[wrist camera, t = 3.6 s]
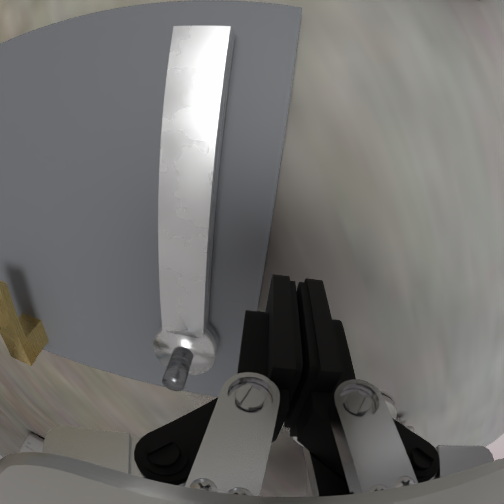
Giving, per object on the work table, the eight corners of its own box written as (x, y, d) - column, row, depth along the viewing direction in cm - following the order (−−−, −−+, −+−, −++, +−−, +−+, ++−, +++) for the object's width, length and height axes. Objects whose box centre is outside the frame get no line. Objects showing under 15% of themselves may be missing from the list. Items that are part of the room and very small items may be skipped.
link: (217, 361, 24) (207, 409, 20) (162, 351, 24) (144, 395, 20) (251, 36, 14) (242, 9, 9) (169, 34, 14) (134, 13, 9)
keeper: (26, 265, 22) (-1, 288, 18) (49, 341, 26) (31, 366, 23) (6, 260, 22) (-20, 281, 18) (29, 333, 26) (11, 356, 23)
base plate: (300, 14, 14) (302, 7, 13) (242, 388, 28) (241, 400, 27) (-18, 57, 14) (-28, 57, 13) (17, 328, 29) (11, 335, 27)
